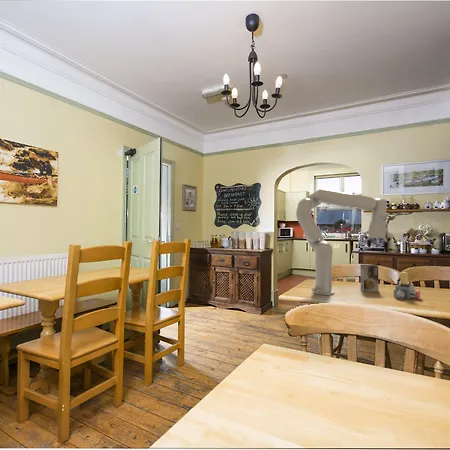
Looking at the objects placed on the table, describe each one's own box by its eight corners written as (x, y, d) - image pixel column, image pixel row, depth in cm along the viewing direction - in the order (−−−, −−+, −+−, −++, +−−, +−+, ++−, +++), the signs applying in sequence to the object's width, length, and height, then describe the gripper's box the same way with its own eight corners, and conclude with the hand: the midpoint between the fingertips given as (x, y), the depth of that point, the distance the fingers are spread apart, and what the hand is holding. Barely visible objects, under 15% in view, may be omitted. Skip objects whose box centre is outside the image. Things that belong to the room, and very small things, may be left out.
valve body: (413, 302, 166) (413, 289, 166) (391, 298, 174) (391, 286, 174) (423, 297, 176) (423, 285, 176) (402, 294, 184) (402, 282, 184)
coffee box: (374, 289, 196) (374, 264, 196) (378, 291, 189) (378, 265, 189) (360, 289, 197) (360, 264, 197) (363, 291, 190) (363, 265, 190)
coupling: (407, 290, 173) (406, 273, 174) (399, 289, 177) (398, 272, 177) (409, 289, 176) (408, 272, 176) (402, 288, 179) (401, 271, 179)
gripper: (396, 219, 178) (395, 249, 178) (367, 219, 191) (366, 246, 191) (391, 219, 173) (389, 249, 173) (361, 218, 186) (360, 246, 187)
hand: (377, 247), depth 182 cm, fingers open, 9 cm apart
